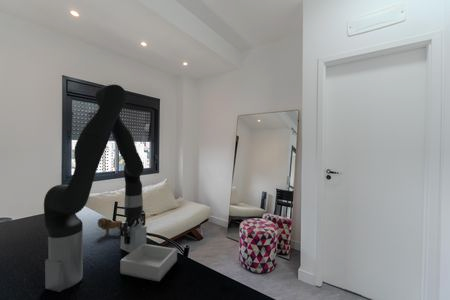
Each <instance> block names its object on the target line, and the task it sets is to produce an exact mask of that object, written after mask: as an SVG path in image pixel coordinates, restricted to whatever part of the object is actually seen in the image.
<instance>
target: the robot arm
mask: <svg viewBox="0 0 450 300" xmlns="http://www.w3.org/2000/svg"><path fill="white" fill-rule="evenodd" d="M126 93H127V92H126V91H125V89H124V88H123V86H121V85H119V84H115V83H114V84H107V85H106V86H103V87H102V88H99V89H98V90H97V91H96V92H95V95H94V96H95V101H96V103H97V106H98V109H97V111H96V113H95V114H94V115H93V116H92V118H91V119H89V121H88V122H87V123H86V125H85V126H84V128H83V129H82V130H81V132H80V134H79V136H78V139H77V140H76V143H75V146H74V163H75V164H74V170H73V174H72V176H71V179H70V181H69V183H68V184H57V185H54V186H52V187H51V188H49V189H48V191H47V192H46V193H45V196H44V200H43V215H44V226H45V228H46V229H47V234H48V237H47V238H48V258H46V259H45V261H44V270H45V272H44V275H45V276H44V277H45V279H44V281H45V283H44V284H45V288H44V289H46V290H50V291H54V292H58V293H60V292H62V291H64V290H66V289H70V288H71V287H74V286H75V285H76V284H78V283H79V282H80V281H82V279H83V278H84V271H83V269H84V264H83V261H84V260H83V259H84V257H83V256H84V253H83V251H84V250H83V249H84V248H83V247H84V246H83V245H84V244H83V243H84V242H83V240H84V239H83V235H84V234H83V232H84V230H83V228H84V227H83V226H84V225H83V221H82V220H81V219H80V218H79V217H78V216H77V213H80V212H81V211H82V210H83V209H84V207H86V204H87V203H88V200H89V199H90V198H89V197H90V194H91V191H92V187H93V183H94V179H95V177H96V173H97V170H98V168H99V165H100V163H101V160H102V157H103V155H104V153H105V150H106V148H107V145H108V143H109V139H110V137H111V134H112V136H113V137H114V141H115V143H116V144H115V145H116V147H117V149H118V152H119V155H120V156H121V157H122V160H123V162H124V166H123V175H124V176H123V177H124V183H125V185H124V205H123V206H124V209H123V210H124V216H125V221H122V222H121V223H120V230H119V231H120V233H119V236H120V237H121V236H124V243H125V244H127V245H129V244H130V233H131V230H132V229H133V228H134V227H135V226H137V225H138V224H139V225H143V226H146V213H145V212H143V209H144V206H143V205H144V203H143V202H144V201H143V184H142V181H141V175H142V174H143V173H144V170H145V168H144V164H143V161H142V159H141V157H140V154H139V152H138V149H137V146H136V143H135V140H134V137H133V135H132V133H131V131H130V130H129V129H128V127H127V126H126V124H124V122H123V120H122V118H121V117H120V113H121V112H122V110H123V108H124V106H125V104H126V102H127V94H126ZM128 227H130V228H128ZM128 230H129V231H128ZM123 231H124V233H123ZM127 231H128V233H127Z"/></svg>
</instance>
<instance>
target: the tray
mask: <svg viewBox="0 0 450 300" xmlns="http://www.w3.org/2000/svg"><path fill="white" fill-rule="evenodd" d="M119 260H120V259H119ZM177 261H178V249H177V248H176V247H175V248H174V247H167V246H162V245H161V246H160V245H155V244H148V243H146V244H142V245H140V246H139V247H138V248H136V249H135V250H134V251H132V252H131V253H129V252H128V254H126V255H125V256H124V257H123V258H121V260H120V262H119V263H120V266H119V271H120V272H119V273H120V275H126V276H130V277H134V278H140V279H145V280H149V281H154V282H160V281H161V280H162V279H163V278H164V276H165V275H166V274H167V273H168V272H169V271H170V270H171V268H172V267H173V266H174V265H175V264H176V262H177Z"/></svg>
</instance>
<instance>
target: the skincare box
mask: <svg viewBox="0 0 450 300" xmlns="http://www.w3.org/2000/svg"><path fill="white" fill-rule="evenodd" d="M128 228H130V227H128ZM147 228H148V227H147V226H146V225H144V226H143V225H139V224H138V225H137V226H135V227H134V228H133V229H132V230H131V233H130V244H129V245H127V244H125V243H124V236H120V247H119V248H120V249H121V250H122V251H125V252H127V253H128V254H129V253H131V252H132V251H134V250H135V249H136V248H138V247H139V246H140V245H142V244H147V231H148V230H147ZM128 231H129V230H128ZM128 231H127V233H128ZM123 233H124V231H123Z"/></svg>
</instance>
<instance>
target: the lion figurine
mask: <svg viewBox="0 0 450 300" xmlns="http://www.w3.org/2000/svg"><path fill="white" fill-rule="evenodd" d="M121 222H123V220H122V221H121V220H118V221H112V220H111V219H108V218H107V217H106V218H105V217H102V218H101V217H100V218H99V219H98V220H97V226H98V228H101V229H102V230H104V231H105V234H104V235H105V236H106V237H107V236H108V235H109V234H110V233H109V232H110V230H114V229H117V228H118V230H119V231H118V233H119V234H120V223H121Z"/></svg>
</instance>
